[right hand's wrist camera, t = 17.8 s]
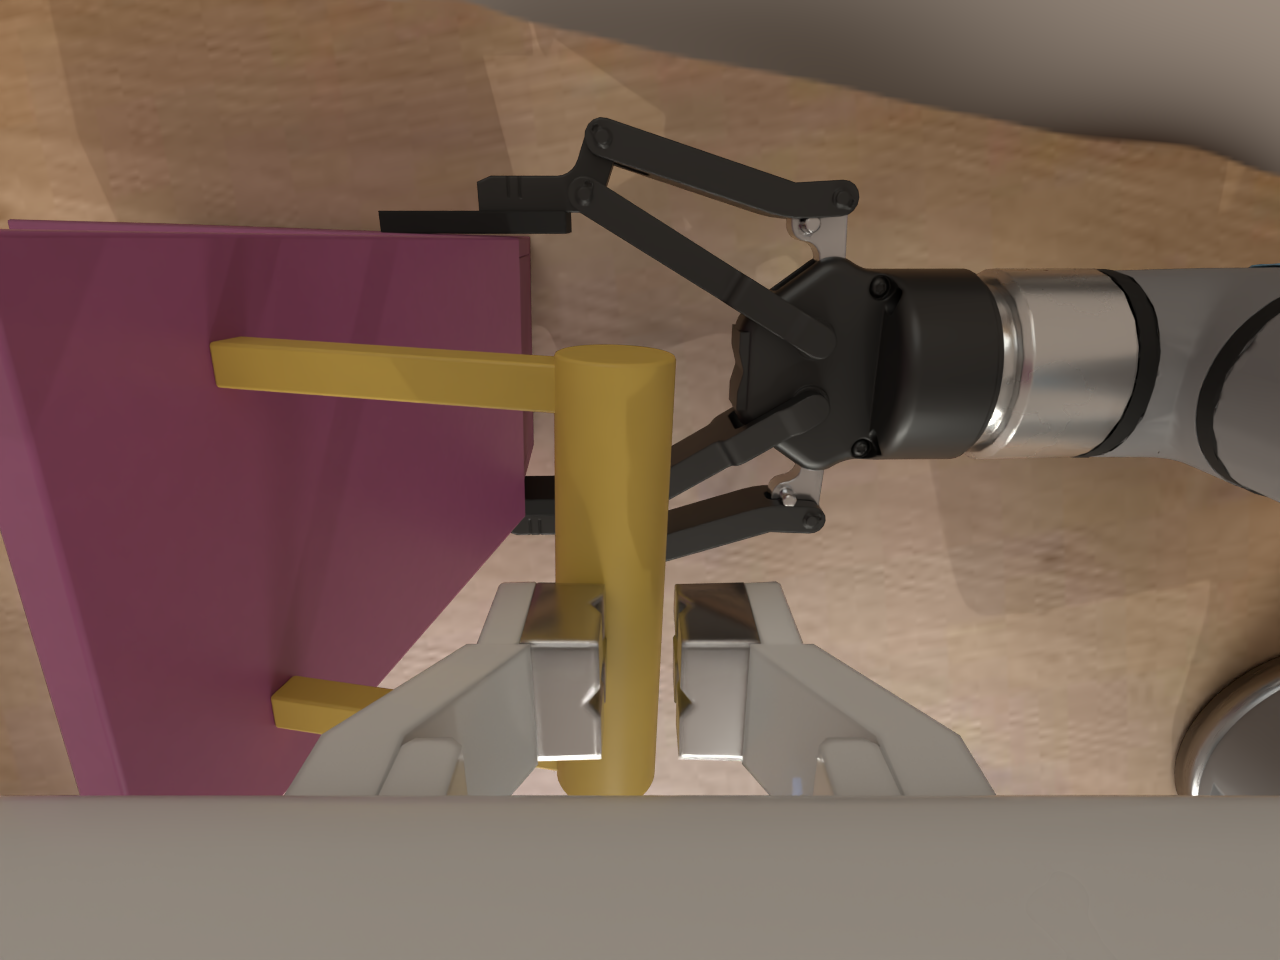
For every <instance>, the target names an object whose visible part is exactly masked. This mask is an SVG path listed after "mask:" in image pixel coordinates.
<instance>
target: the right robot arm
mask: <svg viewBox="0 0 1280 960" xmlns="http://www.w3.org/2000/svg"><path fill="white" fill-rule="evenodd" d="M674 622H675V636H674V637H673V685H674V702H675V703H676V730H677V742H678V754H679V759H689V760H726V761H742V764H743V765H744V767H745V768H746V769H747V770H748V771H749V772H750V773H751V775H752V776H753V777H754V778H755V779H756V780H757V781H758V783H759V784H760V785H761V786H762V787H763V788H764V789H765V791H766V792H767V793H768V794H769V795H768V796H574V795H573V796H572V795H512V794H513V793H514V791H515V790H516V789H517V788H518V787H519V786H520V785H521V783H522V782H523V781H524V780H525V779H526V778H527V777H528V775H529V774H530V773H531V772H532V771H533V770H534V769H535V767H536V766H537V765H538V761H554V760H589V759H601V758H602V745H603V733H604V703H605V702H606V688H607V638H606V637H605V624H606V588H605V584H591V583H536V582H505V583H502V584H500V585H499V587H498V590H497V592H496V595H495V598H494V600H493V603H492V605H491V608H490V611H489V613H488V616H487V619H486V621H485V624H484V626H483V629H482V632H481V634H480V637H479V640H478V642H477V644H466V645H464V646H463V647H461V648H460V649H458V650H456V651H455V652H453V653H452V654H450V655H448V656H447V657H445V658H444V659H442V660H440V661H439V662H437V663H436V664H434V665H432V666H431V667H429V668H428V669H426V670H424V671H423V672H421V673H419V674H418V675H416V676H415V677H413V678H411V679H410V680H408V681H407V682H405V683H403V684H402V685H400V686H399V687H397V688H395V689H394V690H392V691H391V692H389V693H387V694H386V695H384V696H383V697H381V698H379V699H378V700H376V701H375V702H373V703H371V704H370V705H368V706H366V707H365V708H363V709H362V710H360V711H358V712H357V713H355V714H354V715H352V716H350V717H349V718H347V719H346V720H344V721H342V722H341V723H339V724H338V725H336V726H334V727H333V728H331V729H330V730H328V731H326V732H325V733H323V734H322V735H321V736H320V738H319V739H318V741H317V743H316V744H315V746H314V747H313V749H312V751H311V752H310V754H309V755H308V757H307V759H306V760H305V762H304V764H303V765H302V767H301V768H300V770H299V772H298V773H297V775H296V777H295V778H294V780H293V781H292V783H291V785H290V786H289V788H288V790H287V791H286V793H285V794H284V795H0V960H1280V796H1212V795H996V794H995V792H994V791H993V789H992V787H991V786H990V784H989V782H988V781H987V779H986V777H985V776H984V774H983V773H982V771H981V769H980V768H979V766H978V764H977V763H976V761H975V759H974V758H973V756H972V755H971V753H970V751H969V750H968V748H967V746H966V745H965V743H964V741H963V740H962V738H961V736H960V735H958V734H957V733H955V732H953V731H952V730H950V729H949V728H947V727H945V726H944V725H942V724H941V723H939V722H937V721H936V720H934V719H933V718H931V717H929V716H928V715H926V714H925V713H923V712H921V711H920V710H918V709H917V708H915V707H913V706H912V705H910V704H909V703H907V702H905V701H904V700H902V699H901V698H899V697H897V696H896V695H894V694H893V693H891V692H889V691H888V690H886V689H885V688H883V687H881V686H880V685H878V684H877V683H875V682H873V681H872V680H870V679H869V678H867V677H865V676H864V675H862V674H861V673H859V672H857V671H856V670H854V669H853V668H851V667H849V666H848V665H846V664H845V663H843V662H841V661H840V660H838V659H837V658H835V657H833V656H832V655H830V654H829V653H827V652H825V651H824V650H822V649H821V648H819V647H817V646H816V645H814V644H803V642H802V639H801V637H800V634H799V631H798V629H797V626H796V624H795V621H794V618H793V616H792V613H791V611H790V608H789V606H788V603H787V600H786V598H785V595H784V593H783V590H782V587H781V585H780V584H779V583H778V582H756V583H704V584H676V585H675V590H674Z"/></svg>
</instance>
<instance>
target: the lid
mask: <svg viewBox="0 0 1280 960" xmlns="http://www.w3.org/2000/svg"><path fill="white" fill-rule="evenodd" d="M675 368H676V359H675V356H674V355H673V354H671V353H669V352H666V351H663V350H660V349H655V348H649V347H641V346H630V345H582V346H573V347H568V348H564V349H561V350H558V351H557V352H556V353H555V355H554V356H540V355H524V354H521V312H520V268H519V239H518V238H511V237H466V236H403V235H340V234H277V233H213V232H150V231H87V230H24V229H0V531H1V534H2V537H3V541H4V544H5V547H6V551H7V554H8V557H9V561H10V564H11V567H12V571H13V574H14V577H15V581H16V584H17V587H18V591H19V594H20V597H21V601H22V604H23V607H24V611H25V614H26V617H27V621H28V624H29V627H30V631H31V634H32V637H33V641H34V644H35V647H36V651H37V654H38V657H39V660H40V664H41V667H42V670H43V674H44V677H45V680H46V684H47V687H48V690H49V694H50V697H51V700H52V704H53V707H54V710H55V714H56V717H57V720H58V724H59V727H60V730H61V734H62V737H63V740H64V744H65V747H66V750H67V754H68V757H69V760H70V764H71V767H72V770H73V774H74V777H75V780H76V784H77V787H78V790H79V794H80V795H283V794H284V793H285V792H286V791H287V790H288V788H289V786H290V785H291V783H292V781H293V780H294V778H295V777H296V775H297V773H298V772H299V770H300V768H301V767H302V765H303V764H304V762H305V760H306V759H307V757H308V755H309V754H310V752H311V751H312V749H313V747H314V746H315V744H316V743H317V741H318V739H319V738H320V736H321V735H322V734H323V733H325V732H326V731H328V730H330V729H331V728H333V727H334V726H336V725H338V724H339V723H341V722H342V721H344V720H346V719H347V718H349V717H350V716H352V715H354V714H355V713H357V712H358V711H360V710H362V709H363V708H365V707H366V706H368V705H370V704H371V703H373V702H375V701H376V700H378V699H379V698H381V697H383V696H384V695H386V694H387V693H389V692H391V691H392V690H394V689H387V688H379V687H377V686H378V685H379V684H380V683H381V681H382V680H383V679H384V678H385V677H386V676H387V674H388V673H389V672H390V671H391V670H392V669H393V668H394V666H395V665H396V664H397V663H398V662H399V661H400V659H401V658H402V657H403V656H404V655H405V654H406V653H407V651H408V650H409V649H410V648H411V647H412V646H413V645H414V643H415V642H416V641H417V640H418V639H419V638H420V636H421V635H422V634H423V633H424V632H425V631H426V630H427V628H428V627H429V626H430V625H431V624H432V623H433V621H434V620H435V619H436V618H437V617H438V616H439V615H440V613H441V612H442V611H443V610H444V609H445V608H446V606H447V605H448V604H449V603H450V602H451V601H452V600H453V598H454V597H455V596H456V595H457V594H458V593H459V592H460V590H461V589H462V588H463V587H464V586H465V585H466V583H467V582H468V581H469V580H470V579H471V578H472V577H473V575H474V574H475V573H476V572H477V571H478V570H479V568H480V567H481V566H482V565H483V564H484V563H485V562H486V560H487V559H488V558H489V557H490V556H491V555H492V554H493V552H494V551H495V550H496V549H497V548H498V547H499V545H500V544H501V543H502V542H503V541H504V540H505V539H506V537H507V536H508V535H509V534H510V533H511V532H512V530H513V529H514V528H515V527H516V526H517V525H518V524H519V522H520V521H521V520H522V519H523V518H524V517H525V486H524V442H523V411H533V412H546V413H554V433H555V570H556V583H591V584H605V588H606V624H605V637H606V638H607V688H606V702H605V703H604V733H603V745H602V758H601V759H589V760H554V761H538V765H537V766H536V767H535V768H542V769H548V770H555V771H557V777H558V781H559V783H560V785H561V787H562V788H563V790H564V791H565V792H566V793H567V794H568V795H572V796H573V795H574V796H642V795H643V794H644V793H645V792H646V791H647V790H648V788H649V787H650V785H651V783H652V781H653V778H654V772H655V754H656V735H657V715H658V696H659V677H660V657H661V638H662V619H663V600H664V580H665V561H666V542H667V523H668V503H669V484H670V465H671V445H672V426H673V407H674V388H675Z"/></svg>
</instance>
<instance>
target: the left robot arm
mask: <svg viewBox="0 0 1280 960" xmlns="http://www.w3.org/2000/svg"><path fill="white" fill-rule="evenodd" d="M613 166H616V167H619V168H622V169H625V170H628V171H631V172H634V173H637V174H640V175H643V176H646V177H649V178H652V179H655V180H658V181H661V182H664V183H667V184H670V185H673V186H676V187H679V188H682V189H685V190H688V191H691V192H694V193H697V194H700V195H703V196H706V197H709V198H712V199H715V200H718V201H721V202H724V203H727V204H730V205H733V206H736V207H739V208H742V209H745V210H748V211H751V212H754V213H757V214H761V215H764V216H768V217H775V218H786V228H787V231H788V234H789V235H790V236H791V237H792V238H794V239H796V240H800V241H804V242H806V243H807V244H808V245H809V246H810V247H811V249H812V251H813V259H811V260H810V261H808V262H807V263H805V264H804V265H803V266H801V267H800V268H799V269H797V270H796V271H794V272H793V273H792V274H790V275H789V276H787V277H786V278H785V279H783V280H782V281H781V282H779V283H778V284H776V285H775V286H774V287H772V288H771V289H769V290H768V289H767V288H765V287H764V286H762V285H761V284H759V283H757V282H756V281H754V280H753V279H751V278H749V277H748V276H746V275H744V274H743V273H741V272H740V271H738V270H736V269H735V268H733V267H732V266H730V265H729V264H727V263H725V262H724V261H722V260H721V259H719V258H718V257H716V256H714V255H713V254H711V253H710V252H708V251H707V250H705V249H703V248H702V247H700V246H699V245H697V244H696V243H694V242H692V241H691V240H689V239H688V238H686V237H685V236H683V235H681V234H680V233H678V232H677V231H675V230H674V229H672V228H670V227H669V226H667V225H666V224H664V223H663V222H661V221H659V220H658V219H656V218H655V217H653V216H652V215H650V214H648V213H647V212H645V211H644V210H642V209H641V208H639V207H637V206H636V205H634V204H633V203H631V202H630V201H628V200H626V199H625V198H623V197H622V196H620V195H619V194H617V193H615V192H614V191H612V190H611V189H609V188H608V187H607V185H608V182H609V179H610V176H611V172H612V169H613ZM477 188H478V201H479V211H379V219H380V227H381V232H382V233H410V234H567V233H570V232H572V229H571V213H582V214H583V215H585V216H586V217H588V218H590V219H591V220H593V221H594V222H596V223H598V224H599V225H601V226H603V227H604V228H606V229H607V230H609V231H611V232H612V233H614V234H615V235H617V236H619V237H620V238H622V239H623V240H625V241H627V242H628V243H630V244H631V245H633V246H635V247H636V248H638V249H639V250H641V251H643V252H644V253H646V254H648V255H649V256H651V257H652V258H654V259H656V260H657V261H659V262H660V263H662V264H664V265H665V266H667V267H668V268H670V269H672V270H673V271H675V272H676V273H678V274H680V275H681V276H683V277H684V278H686V279H688V280H689V281H691V282H692V283H694V284H696V285H697V286H699V287H701V288H702V289H704V290H705V291H707V292H709V293H710V294H712V295H713V296H715V297H717V298H718V299H720V300H721V301H723V302H724V303H726V304H727V305H729V306H731V307H732V308H734V309H735V310H737V311H738V312H740V313H741V314H740V315H739V317H738V319H737V321H736V324H734V325H732V348H733V352H734V357H735V366H734V369H733V372H732V376H731V379H730V387H729V400H730V401H731V403H732V406H733V407H732V408H730V409H729V410H727V411H725V412H723V413H722V414H720V415H718V416H717V417H716V418H714V419H713V420H712V422H711V423H710V424H709V425H707V426H706V427H704V428H702V429H701V430H699V431H697V432H695V433H694V434H692V435H690V436H688V437H687V438H685V439H683V440H681V441H680V442H678V443H676V444H674V445H673V446H671V465H670V484H669V500H670V499H671V498H673V497H675V496H677V495H679V494H680V493H682V492H684V491H686V490H688V489H689V488H691V487H693V486H695V485H697V484H698V483H700V482H702V481H704V480H706V479H707V478H709V477H711V476H713V475H715V474H716V473H718V472H720V471H722V470H724V469H725V468H727V467H729V466H738V465H741V464H744V463H746V462H747V461H749V460H751V459H753V458H755V457H756V456H758V455H760V454H762V453H764V452H766V451H767V450H769V449H771V448H773V447H774V448H775V449H777V450H778V451H779V452H781V453H782V454H783V455H785V456H786V457H788V458H789V459H790V460H792V461H793V462H795V465H794V467H793V469H792V470H790V471H789V472H787V473H785V474H781V475H777V476H774V477H773V478H772V479H771V480H770V482H769V484H768V485H761V486H753V487H749V488H744V489H741V490H737V491H734V492H730V493H727V494H723V495H720V496H716V497H713V498H710V499H706V500H703V501H699V502H696V503H692V504H689V505H685V506H682V507H679V508H675V509H672V510H668V523H667V542H666V561H670V560H673V559H677V558H680V557H684V556H687V555H691V554H694V553H698V552H701V551H705V550H708V549H712V548H715V547H719V546H722V545H726V544H729V543H733V542H736V541H740V540H743V539H747V538H751V537H754V536H758V535H761V534H765V533H768V532H784V533H815V532H817V531H819V530H820V529H821V528H822V527H823V526H824V523H825V515H824V513H823V511H822V510H821V508H820V507H819V498H820V492H821V486H822V479H823V473H824V469H827V468H830V467H831V466H833V465H835V464H837V463H839V462H842V461H845V460H849V459H951V458H956V457H958V456H960V455H962V454H963V453H964V454H965V455H967V456H968V457H971V458H976V459H1003V458H1042V457H1157V458H1165V459H1171V460H1176V461H1180V462H1183V463H1186V464H1188V465H1190V466H1192V467H1195V468H1197V469H1199V470H1202V471H1204V472H1206V473H1208V474H1211V475H1213V476H1215V477H1218V478H1220V479H1222V480H1224V481H1227V482H1229V483H1231V484H1233V485H1236V486H1239V487H1242V488H1244V489H1246V490H1248V491H1250V492H1253V493H1255V494H1259V495H1262V496H1266V497H1269V498H1271V499H1273V500H1275V501H1278V502H1280V263H1278V264H1259V265H1252V266H1250V267H1249V268H1191V269H1155V270H1118V271H1114V270H1107V269H986V270H984V271H982V272H980V273H978V274H975V273H973V272H972V271H970V270H967V269H866V268H862V267H860V266H858V265H856V264H854V263H853V262H851V261H850V260H848V259H846V258H845V257H846V237H847V217H848V214H850V213H851V212H852V211H854V209H855V208H856V206H857V204H858V200H859V192H858V189H857V187H856V186H855V184H853V183H852V182H850V181H847V180H832V181H814V182H797V183H795V182H792V181H789V180H787V179H784V178H781V177H778V176H775V175H772V174H769V173H766V172H763V171H760V170H757V169H754V168H752V167H749V166H746V165H743V164H740V163H737V162H734V161H731V160H728V159H725V158H722V157H719V156H716V155H714V154H711V153H708V152H705V151H702V150H699V149H696V148H693V147H690V146H687V145H684V144H681V143H679V142H676V141H673V140H670V139H667V138H664V137H661V136H658V135H655V134H652V133H649V132H646V131H644V130H641V129H638V128H635V127H632V126H629V125H626V124H623V123H620V122H617V121H614V120H611V119H608V118H603V117H599V118H596V119H593V120H592V121H591V122H590V123H589V124H588V126H587V128H586V130H585V137H584V140H583V144H582V147H581V150H580V154H579V157H578V160H577V162H576V165H575V166H574V167H573V169H572V170H571V171H569V172H568V173H566V174H564V175H559V176H489V177H487V178H485V179H482V180H480V181H478V182H477ZM524 486H525V517H524V518H523V519H522V520H521V521H520V522H519V524H518V525H517V526H516V527H515V528H514V529H513V530H512V532H511V533H513V534H516V535H530V534H532V535H539V534H541V535H555V476H525V479H524ZM666 561H665V562H666ZM1175 785H1176V790H1177V793H1178V795H1212V796H1280V657H1278V658H1275V659H1273V660H1270V661H1268V662H1266V663H1264V664H1262V665H1260V666H1258V667H1256V668H1254V669H1253V670H1251V671H1249V672H1248V673H1246V674H1244V675H1243V676H1241V677H1240V678H1238V679H1237V680H1235V681H1234V682H1233V683H1231V684H1230V685H1229V686H1227V687H1226V688H1225V689H1223V690H1222V691H1221V692H1220V693H1219V694H1218V695H1217V696H1216V697H1214V698H1213V699H1212V700H1211V701H1210V703H1209V704H1208V705H1207V706H1206V707H1205V708H1204V709H1203V710H1202V711H1201V713H1200V714H1199V715H1198V716H1197V718H1196V719H1195V720H1194V722H1193V723H1192V725H1191V726H1190V728H1189V730H1188V731H1187V733H1186V735H1185V737H1184V739H1183V741H1182V743H1181V745H1180V748H1179V751H1178V754H1177V759H1176V763H1175Z"/></svg>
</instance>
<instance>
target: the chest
mask: <svg viewBox="0 0 1280 960" xmlns="http://www.w3.org/2000/svg"><path fill="white" fill-rule="evenodd" d="M8 225H9V228H10V229H24V230H87V231H150V232H213V233H277V234H340V235H403V236H466V237H511V238H518V239H519V268H520V312H521V354H524V355H532V328H531V272H530V237H525V236H497V235H469V234H410V233H382V232H381V231H359V230H331V229H303V228H276V227H248V226H220V225H193V224H165V223H128V222H90V221H53V220H16V219H10V220H8ZM523 442H524V479H525V475H526V472H527V468H528V464H529V460H530V456H531V453H532V449H533V445H534V439H533V411H523Z"/></svg>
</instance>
